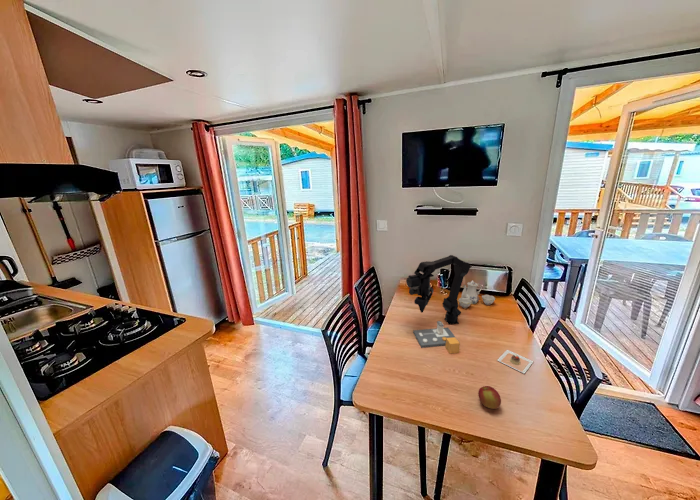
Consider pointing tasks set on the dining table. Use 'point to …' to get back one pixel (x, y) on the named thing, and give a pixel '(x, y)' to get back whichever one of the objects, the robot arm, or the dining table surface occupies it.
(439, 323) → the lever
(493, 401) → the apple
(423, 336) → the breaker panel
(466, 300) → the chinaware
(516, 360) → the dessert
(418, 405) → the dining table surface
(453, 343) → the mustard yellow cube
